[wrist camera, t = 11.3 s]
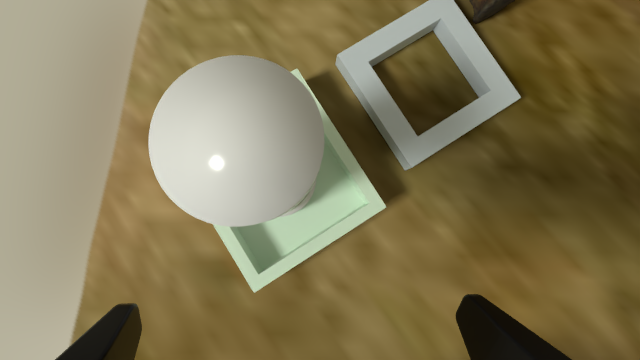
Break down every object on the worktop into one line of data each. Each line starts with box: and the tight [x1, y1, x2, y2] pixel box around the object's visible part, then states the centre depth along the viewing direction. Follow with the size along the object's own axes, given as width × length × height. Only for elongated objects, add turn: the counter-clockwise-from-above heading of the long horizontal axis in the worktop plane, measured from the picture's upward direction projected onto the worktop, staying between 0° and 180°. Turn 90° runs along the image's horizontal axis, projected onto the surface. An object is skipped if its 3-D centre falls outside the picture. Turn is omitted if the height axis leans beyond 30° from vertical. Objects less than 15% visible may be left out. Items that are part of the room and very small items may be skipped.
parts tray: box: [213, 69, 386, 293], centre depth 21 cm, size 11×10×2 cm
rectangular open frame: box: [336, 0, 521, 170], centre depth 23 cm, size 10×10×2 cm
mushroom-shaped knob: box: [149, 55, 324, 227], centre depth 15 cm, size 5×5×12 cm
